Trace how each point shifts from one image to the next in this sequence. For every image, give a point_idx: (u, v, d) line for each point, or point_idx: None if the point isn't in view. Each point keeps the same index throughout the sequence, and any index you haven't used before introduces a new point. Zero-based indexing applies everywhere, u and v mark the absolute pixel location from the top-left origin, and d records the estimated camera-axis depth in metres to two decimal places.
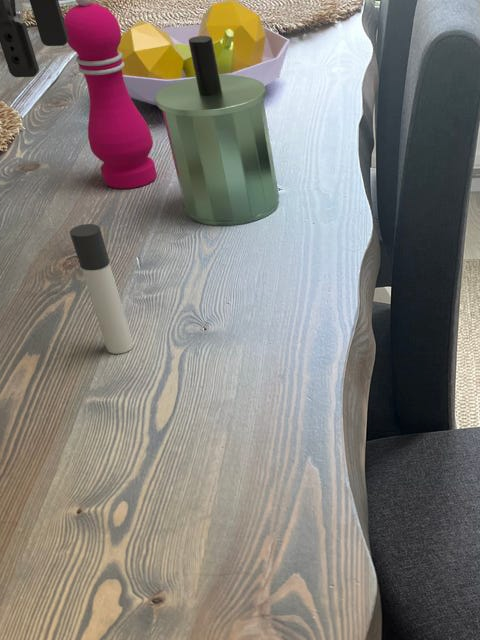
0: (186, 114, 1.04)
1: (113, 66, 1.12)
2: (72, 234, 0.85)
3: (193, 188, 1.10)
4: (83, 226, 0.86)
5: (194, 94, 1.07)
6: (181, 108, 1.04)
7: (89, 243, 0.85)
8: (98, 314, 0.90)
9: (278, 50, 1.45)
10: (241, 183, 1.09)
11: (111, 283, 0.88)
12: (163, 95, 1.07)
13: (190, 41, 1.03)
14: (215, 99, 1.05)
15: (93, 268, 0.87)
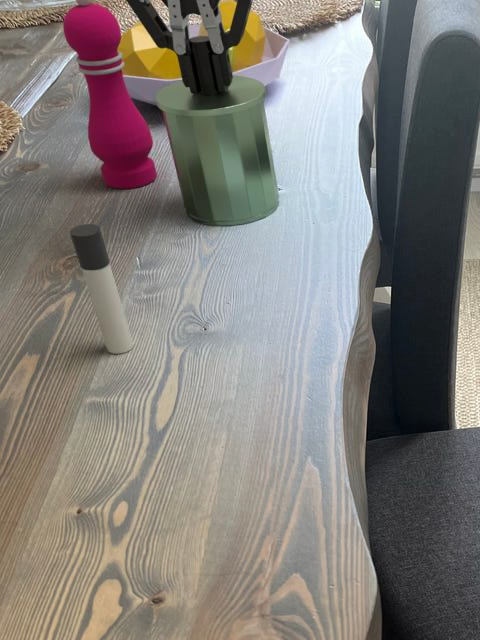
0: (186, 114, 1.04)
1: (113, 66, 1.12)
2: (72, 234, 0.85)
3: (193, 188, 1.10)
4: (83, 226, 0.86)
5: (194, 94, 1.07)
6: (181, 108, 1.04)
7: (89, 243, 0.85)
8: (98, 314, 0.90)
9: (278, 50, 1.45)
10: (241, 183, 1.09)
11: (111, 283, 0.88)
12: (163, 95, 1.07)
13: (190, 41, 1.03)
14: (215, 99, 1.05)
15: (93, 268, 0.87)
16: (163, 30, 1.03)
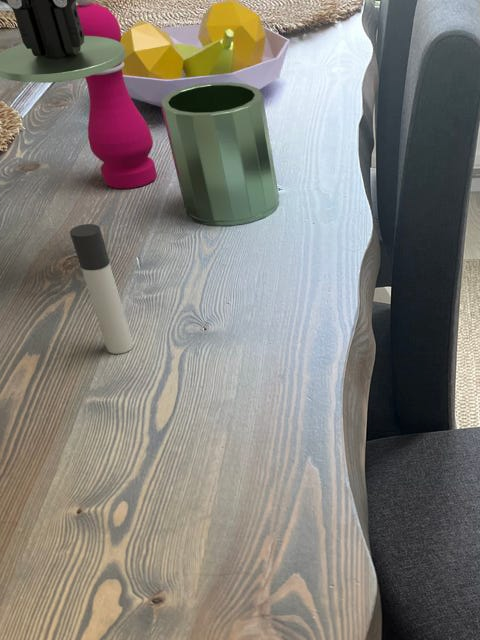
0: (23, 79, 0.87)
1: None
2: (72, 234, 0.85)
3: (193, 188, 1.10)
4: (83, 226, 0.86)
5: (38, 57, 0.90)
6: (17, 72, 0.87)
7: (89, 243, 0.85)
8: (98, 314, 0.90)
9: (278, 50, 1.45)
10: (241, 183, 1.09)
11: (111, 283, 0.88)
12: (1, 58, 0.90)
13: None
14: (60, 62, 0.88)
15: (93, 268, 0.87)
16: None
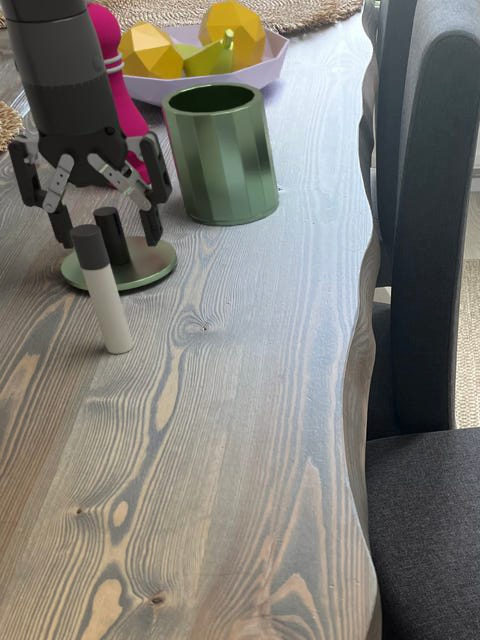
0: None
1: (113, 66, 1.12)
2: (72, 234, 0.85)
3: (193, 188, 1.10)
4: (83, 226, 0.86)
5: None
6: (85, 282, 1.00)
7: (89, 243, 0.85)
8: (98, 314, 0.90)
9: (278, 50, 1.45)
10: (241, 183, 1.09)
11: (111, 283, 0.88)
12: (70, 264, 1.03)
13: (94, 214, 1.00)
14: (122, 271, 1.02)
15: (93, 268, 0.87)
16: (35, 188, 0.99)
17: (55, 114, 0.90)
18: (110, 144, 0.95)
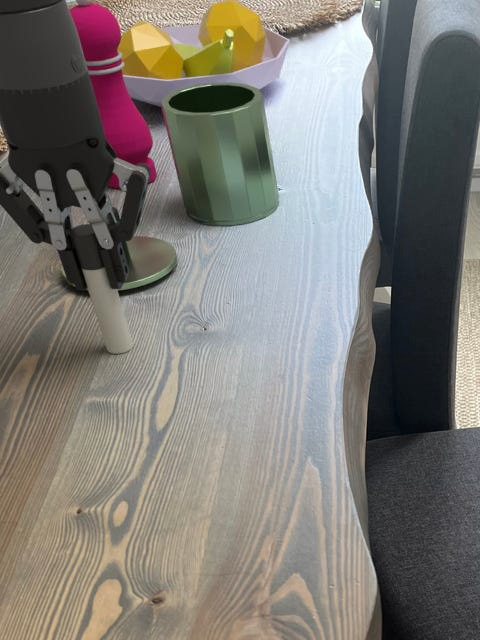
0: None
1: (113, 66, 1.12)
2: (72, 234, 0.85)
3: (193, 188, 1.10)
4: (83, 226, 0.86)
5: None
6: None
7: (89, 243, 0.85)
8: (98, 314, 0.90)
9: (278, 50, 1.45)
10: (241, 183, 1.09)
11: None
12: None
13: None
14: None
15: (93, 268, 0.87)
16: (40, 221, 0.85)
17: (27, 123, 0.76)
18: (93, 158, 0.80)
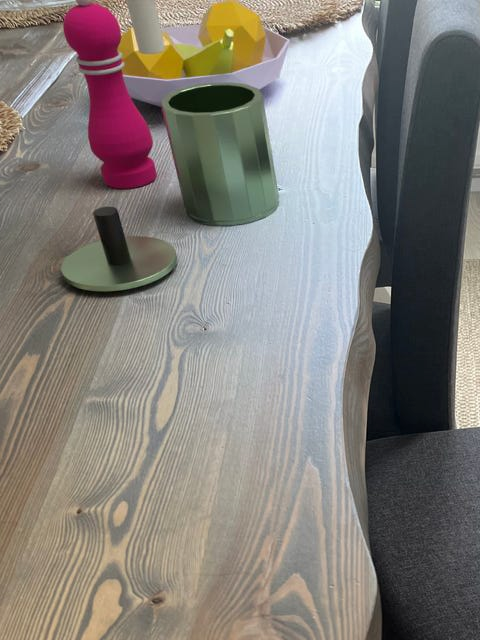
0: (90, 289, 1.00)
1: (113, 66, 1.12)
2: None
3: (193, 188, 1.10)
4: None
5: (102, 263, 1.03)
6: (85, 282, 1.00)
7: None
8: (130, 6, 0.90)
9: (278, 50, 1.45)
10: (241, 183, 1.09)
11: None
12: (70, 264, 1.03)
13: (94, 214, 1.00)
14: (122, 271, 1.02)
15: None
16: None
17: None
18: None
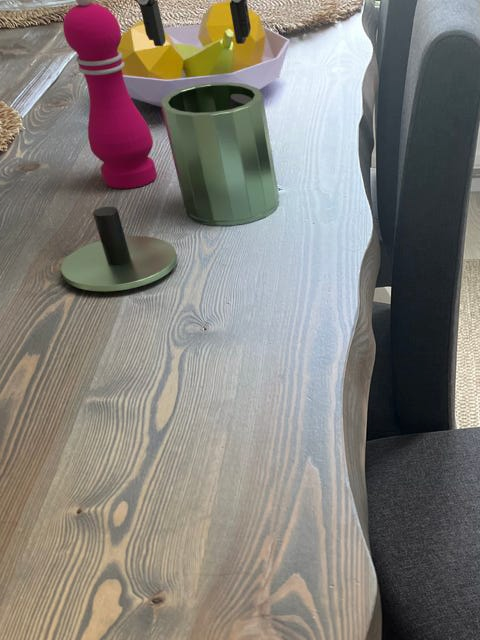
0: (90, 289, 1.00)
1: (113, 66, 1.12)
2: (233, 99, 1.07)
3: (193, 188, 1.10)
4: (240, 95, 1.08)
5: (102, 263, 1.03)
6: (85, 282, 1.00)
7: None
8: None
9: (278, 50, 1.45)
10: (241, 183, 1.09)
11: None
12: (70, 264, 1.03)
13: (94, 214, 1.00)
14: (122, 271, 1.02)
15: None
16: None
17: None
18: None
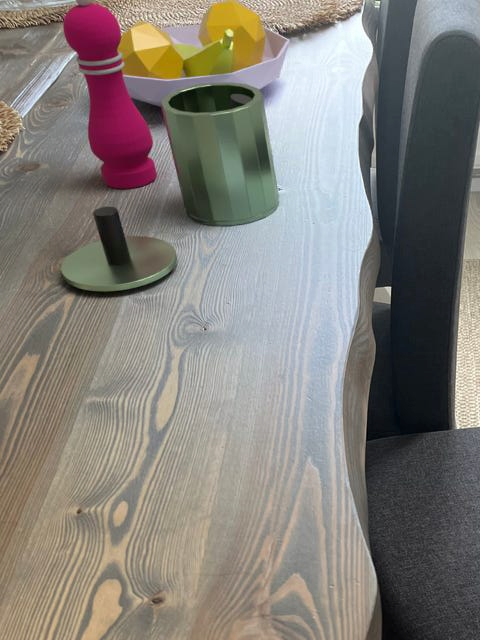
0: (90, 289, 1.00)
1: (113, 66, 1.12)
2: (233, 99, 1.07)
3: (193, 188, 1.10)
4: (240, 95, 1.08)
5: (102, 263, 1.03)
6: (85, 282, 1.00)
7: None
8: None
9: (278, 50, 1.45)
10: (241, 183, 1.09)
11: None
12: (70, 264, 1.03)
13: (94, 214, 1.00)
14: (122, 271, 1.02)
15: None
16: None
17: None
18: None
